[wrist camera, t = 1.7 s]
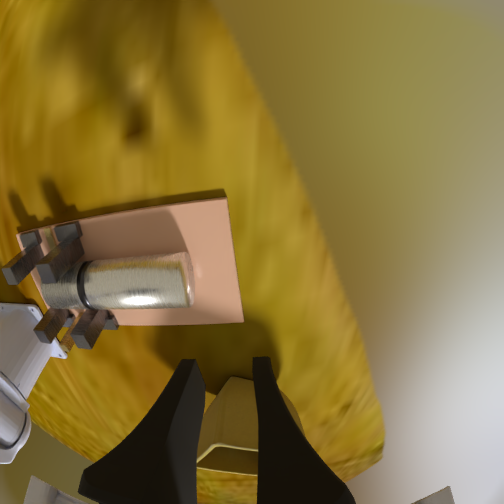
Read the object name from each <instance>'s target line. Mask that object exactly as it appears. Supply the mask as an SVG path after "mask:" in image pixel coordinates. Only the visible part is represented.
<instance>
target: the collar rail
mask: <svg viewBox="0 0 504 504" xmlns="http://www.w3.org/2000/svg"><path fill="white" fill-rule="evenodd" d="M54 231H55V234H56V237H57V240H58V242H60V241H62V242H60V243H59V244H58V245H57V244H56V241H55V238H54V235H53V232H52V229H51V227H48V228H44V232H45V235H46V238H47V241H48V244H49V247H50V250H51V251H50V252H49V253H48V254H47V255H46V256H44V253H43V250H42V248H41V245H40V244H41V243H42V239H41V236H40V233H39V230H38V229H37V230H32V231H28V232H24V233H22V234H21V235H19V237H20V240H21V242H22V245H23V248H25V247H26V248H25V249H24V250H22V251H21V252H20V253H19V254H18V255H16V256H15V257H14V258H13V259H12V260H11V261H9V262H8V263H7V264H6V265H5V266H4V267H3V268H2V271H3V274H4V276H5V278H6V280H7V282H8V284H9V285H18V284H19V283H20V282H21V281H22V280H23V279H24V278H25V277H26V276H27V275H28V274H29V273H30V272H31V271H32V270H33V269H34V268H35V267H36V268H37V271H38V273H39V275H40V277H41V280H42V282H43V284H49V283H57V282H58V281H59V280H60V279H61V278H62V277H63V276H64V274H65V273H66V272H67V271H68V270H69V269H70V268H71V267H72V266H73V265H74V264H75V263H76V262H77V261H78V260H79V259H80V258H81V257H82V256H83V255H84V254H85V252H84V249H83V246H82V243H81V240H80V237H82V236H83V233H82V230H81V226H80V223H79V221H74V222H69V223H64V224H59V225H57V226H55V227H54ZM62 327H70V328H69V329H68V331H67V332H66V334H65V335H64V337H63V339H62V340H61V342H60V343H59V345H60V347H61V348H62V350H63V351H67V352H70V350H71V348H72V347H73V345H74V343H75V344H76V345H77V347H78V348H84V349H92V348H93V346H94V344H95V342H96V340H97V338H98V337H99V335H100V333H101V331H102V329H109V330H117V329H118V327H119V323H118V321H117V319H116V317H115V315H110V313H109V311H108V309H100V310H91V309H86V310H85V312H84V313H82V312H80V313H79V314H78V316H77V317H75V315H74V314H71V313H70V311H69V309H55V308H51V307H50V308H49V309H48V311H47V312H46V313H45V315H44V316H43V317H42V319H41V320H40V321H39V323H38V324H37V325H36V327H35V328H34V329H33V331H34V332H35V334H36V335H37V337H38V339H39V340H40V342H41V343H47V344H51V343H52V342H53V340H54V339H55V337H56V336H57V334H58V333H59V331H60V330H61V328H62Z"/></svg>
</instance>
